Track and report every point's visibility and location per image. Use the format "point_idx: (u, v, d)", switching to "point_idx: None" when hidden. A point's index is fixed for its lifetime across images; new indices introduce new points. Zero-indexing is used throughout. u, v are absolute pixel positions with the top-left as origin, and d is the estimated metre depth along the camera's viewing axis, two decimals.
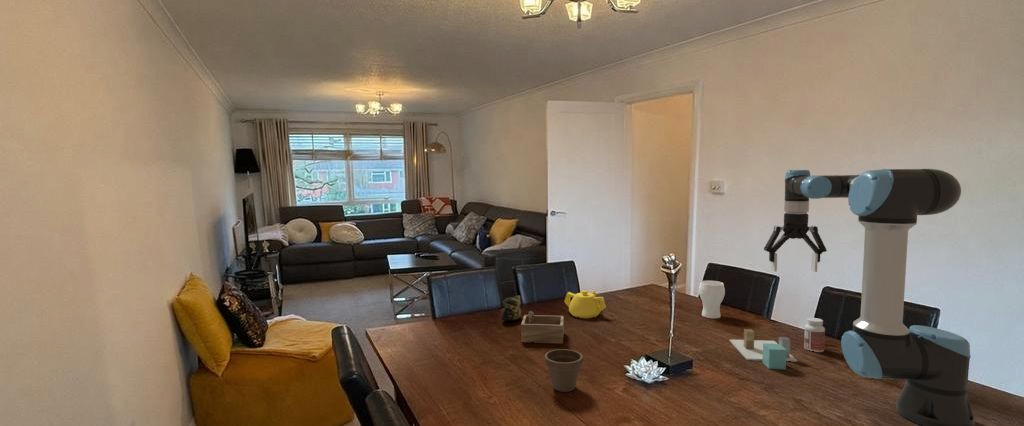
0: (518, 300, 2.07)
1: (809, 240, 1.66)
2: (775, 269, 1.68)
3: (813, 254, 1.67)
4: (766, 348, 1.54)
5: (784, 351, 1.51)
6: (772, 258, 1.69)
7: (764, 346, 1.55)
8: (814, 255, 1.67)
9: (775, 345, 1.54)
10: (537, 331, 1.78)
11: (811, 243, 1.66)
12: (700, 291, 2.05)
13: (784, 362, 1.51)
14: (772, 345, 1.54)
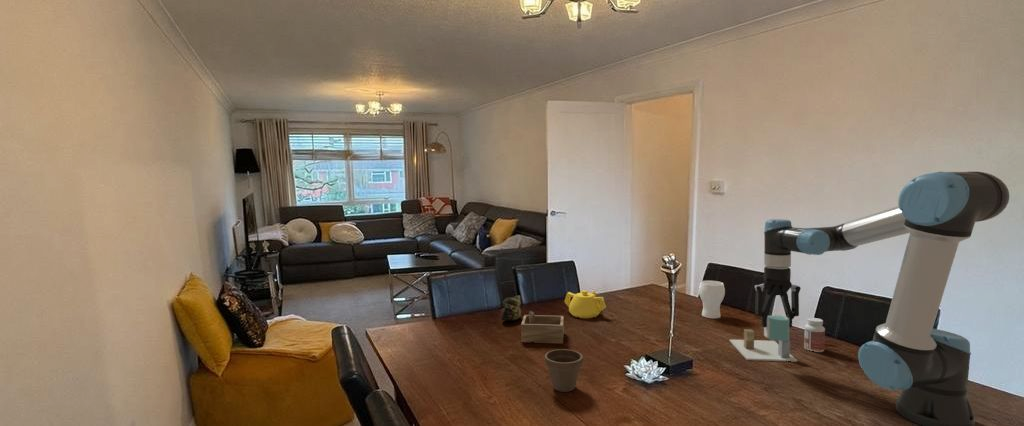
0: (518, 300, 2.07)
1: (786, 300, 1.50)
2: (768, 335, 1.52)
3: None
4: None
5: (786, 322, 1.49)
6: (764, 323, 1.52)
7: None
8: None
9: (777, 317, 1.53)
10: (537, 331, 1.78)
11: (787, 304, 1.50)
12: (700, 291, 2.05)
13: (786, 333, 1.50)
14: (774, 317, 1.53)
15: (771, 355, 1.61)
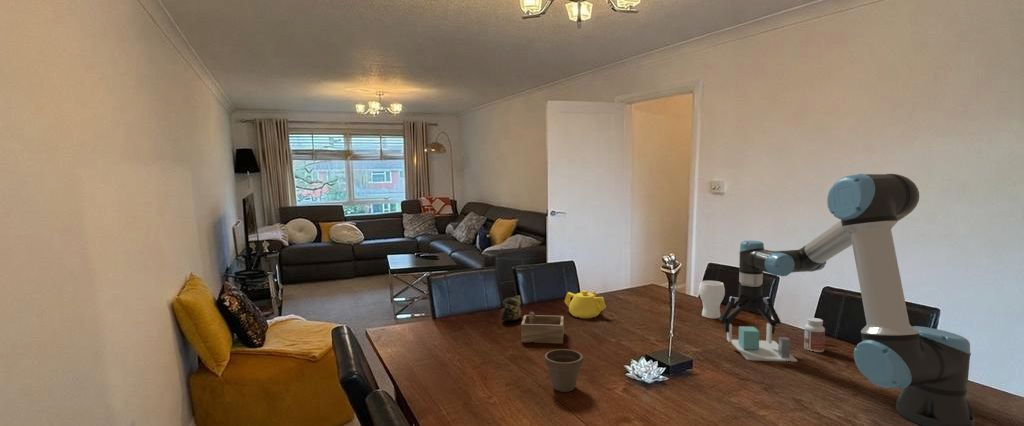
0: (518, 300, 2.07)
1: (763, 312, 1.65)
2: (730, 340, 1.68)
3: (768, 325, 1.67)
4: (741, 330, 1.68)
5: (757, 333, 1.65)
6: (727, 329, 1.68)
7: (740, 329, 1.69)
8: (768, 326, 1.66)
9: (749, 328, 1.69)
10: (537, 331, 1.78)
11: (765, 315, 1.65)
12: (700, 291, 2.05)
13: (757, 343, 1.65)
14: (747, 328, 1.69)
15: (771, 355, 1.61)
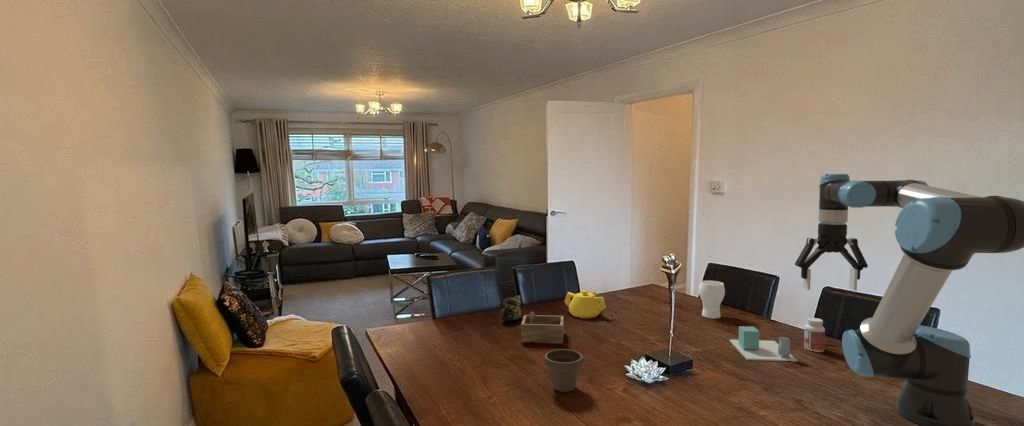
0: (518, 300, 2.07)
1: (848, 254, 1.45)
2: (808, 287, 1.47)
3: (852, 270, 1.46)
4: (741, 330, 1.68)
5: (757, 333, 1.65)
6: (805, 275, 1.48)
7: (740, 329, 1.69)
8: (853, 271, 1.46)
9: (749, 328, 1.69)
10: (537, 331, 1.78)
11: (850, 258, 1.45)
12: (700, 291, 2.05)
13: (757, 343, 1.65)
14: (747, 328, 1.69)
15: (771, 355, 1.61)
